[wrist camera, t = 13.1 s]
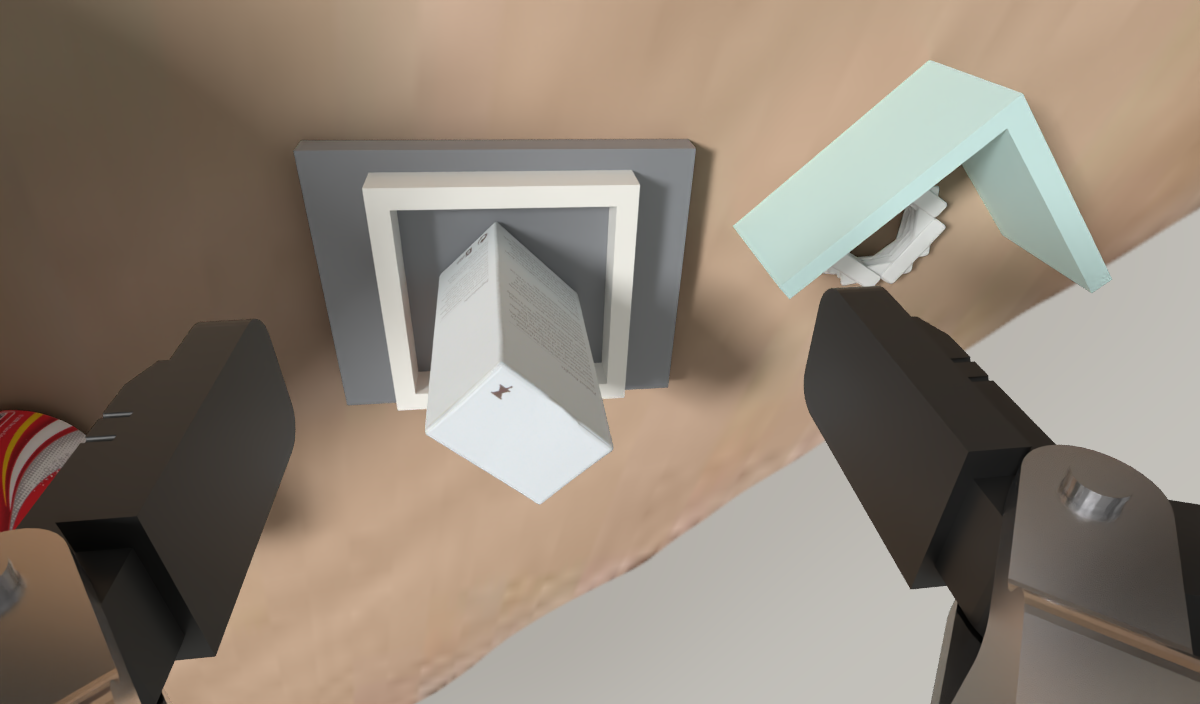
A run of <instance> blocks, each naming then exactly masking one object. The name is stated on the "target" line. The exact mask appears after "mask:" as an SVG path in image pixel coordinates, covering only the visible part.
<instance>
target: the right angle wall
mask: <svg viewBox="0 0 1200 704" xmlns="http://www.w3.org/2000/svg"><path fill="white" fill-rule="evenodd" d="M961 164H962V166H963V168H964V169H965V171H966V173H967V175H968V176H969V178H970V180H971V181H972V183H973V185H974V187H975V188H976V190H977V192H978V194H979V195H980V197H981V199H982V201H983V202H984V204H985V206H986V208H987V209H988V211H989V213H990V215H991V216H992V218H993V220H994V221H995V223H996V225H997V227H998V228H999V230H1000V232H1001V234H1002V235H1003V236H1005V237H1006V238H1008V239H1009V240H1011V241H1012V242H1014V243H1015V244H1017V245H1018V246H1020V247H1021V248H1023V249H1025V250H1026V251H1028V252H1029V253H1031V254H1032V255H1034V256H1035V257H1037V258H1038V259H1040V260H1041V261H1043V262H1045V263H1046V264H1048V265H1049V266H1051V267H1052V268H1054V269H1055V270H1057V271H1058V272H1060V273H1061V274H1063V275H1065V276H1066V277H1068V278H1069V279H1071V280H1072V281H1074V282H1075V283H1077V284H1078V285H1080V286H1082V287H1083V288H1085V289H1086V290H1088V291H1089V292H1091V293H1093V292H1094V291H1096V290H1097V289H1098V288H1100V287H1101V286H1103V285H1104V284H1106V283H1107V282H1109V281H1110V280H1112V278H1111V276H1110V274H1109V272H1108V270H1107V268H1106V265H1105V263H1104V261H1103V259H1102V257H1101V255H1100V253H1099V251H1098V249H1097V247H1096V245H1095V243H1094V241H1093V238H1092V236H1091V234H1090V232H1089V230H1088V228H1087V226H1086V224H1085V222H1084V220H1083V218H1082V216H1081V214H1080V211H1079V209H1078V207H1077V205H1076V203H1075V201H1074V199H1073V197H1072V195H1071V193H1070V191H1069V189H1068V186H1067V184H1066V182H1065V180H1064V178H1063V176H1062V174H1061V172H1060V170H1059V168H1058V166H1057V164H1056V162H1055V159H1054V157H1053V155H1052V153H1051V151H1050V149H1049V147H1048V145H1047V143H1046V141H1045V139H1044V137H1043V135H1042V132H1041V130H1040V128H1039V126H1038V124H1037V122H1036V120H1035V118H1034V116H1033V114H1032V112H1031V110H1030V107H1029V105H1028V103H1027V101H1026V99H1025V97H1024V95H1023V93H1020V92H1017V91H1014V90H1012V89H1009V88H1006V87H1003V86H1000V85H998V84H995V83H992V82H989V81H987V80H984V79H981V78H978V77H976V76H973V75H970V74H967V73H965V72H962V71H959V70H956V69H954V68H951V67H948V66H945V65H942V64H940V63H937V62H934V61H931V60H929V61H927V62H926V63H925V64H924V65H923V66H922V67H920V68H919V69H918V70H917V71H916V72H914V73H913V74H912V75H911V76H910V77H909V78H907V79H906V80H905V81H904V82H903V83H901V84H900V85H899V86H898V87H897V88H896V89H894V90H893V91H892V92H891V93H890V94H888V95H887V96H886V97H885V98H884V99H883V100H881V101H880V102H879V103H878V104H877V105H875V106H874V107H873V108H872V109H871V110H870V111H868V112H867V113H866V114H865V115H864V116H862V117H861V118H860V119H859V120H858V121H857V122H855V123H854V124H853V125H852V126H851V127H849V128H848V129H847V130H846V131H845V132H844V133H842V134H841V135H840V136H839V137H838V138H836V139H835V140H834V141H833V142H832V143H831V144H829V145H828V146H827V147H826V148H825V149H823V150H822V151H821V152H820V153H819V154H818V155H816V156H815V157H814V158H813V159H812V160H810V161H809V162H808V163H807V164H806V165H805V166H803V167H802V168H801V169H800V170H799V171H797V172H796V173H795V174H794V175H793V176H791V177H790V178H789V179H788V180H787V181H786V182H784V183H783V184H782V185H781V186H780V187H778V188H777V189H776V190H775V191H774V192H773V193H771V194H770V195H769V196H768V197H767V198H765V199H764V200H763V201H762V202H761V203H760V204H758V205H757V206H756V207H755V208H754V209H752V210H751V211H750V212H749V213H748V214H747V215H745V216H744V217H743V218H742V219H741V220H739V221H738V222H737V223H736V224H735V225H734V226H733V227H734V228H735V230H736V231H737V232H738V234H739V235H740V236H741V238H742V239H743V240H744V242H745V243H746V244H747V246H748V247H749V248H750V250H751V251H752V252H753V253H754V255H755V256H756V257H757V259H758V260H759V261H760V263H761V264H762V265H763V267H764V268H765V269H766V271H767V272H768V273H769V275H770V276H771V277H772V279H773V280H774V281H775V282H776V284H777V285H778V286H779V288H780V289H781V290H782V291H783V292H784V293H785V295H786V296H787V297H788V298H789V299H790V298H792V297H793V296H794V295H795V294H797V293H798V292H799V291H801V290H802V289H803V288H804V287H806V286H807V285H808V284H809V283H811V282H812V281H813V280H815V279H816V278H817V277H818V276H820V275H821V274H822V273H824V274H837V278H840V280H841V281H840V282H841V284H842V285H843V286H844V285H849V284H854V283H858V284H859V285H861V286H863V287H866V286H875V285H876V284H877V283H878V281H879V280H880V279H882V280H883V281H885V282H887V283H889V284H892V283H894V282H895V281H896V280H897V279H898V278H899V277H900V276H901V275H902V274H905V273H909V272H911V270H912V266H913V262H914V261H915V260H916V259H917V258H918V257H922V256H926V255H928V253H929V250H930V244H931V243H932V242H933V241H934V240H935V239H936V238H937V237H938V236H939V235H940V234H941V233H942V232H943V231H944V230H945V228H946V226H945V225H944V224H943V223H942V222H940V221H939V220H937V219H935V217H937V216H938V215H939V214H940V213H941V212H942V211H943V210H944V209H945V208H946V206H947V203H946V202H945V201H944V200H942V199H941V198H940V197H938V194H939V187H938V186H934V185H936V184H937V183H938V182H939V181H941V180H942V179H943V178H944V177H946V176H947V175H948V174H950V173H951V172H952V171H953V170H955V169H956V168H957V167H958V166H960V165H961ZM904 209H905V210H904ZM902 210H904V213H903V217H902V220H901V224H900V227H899V230H898V234H897V237H896V240H895V241H893V242H892V243H890V244H889V245H888V246H886V247H885V248H883V249H882V250H881V251H879V252H878V253H877V254H875V255H874V256H864V257H856V256H854V255H853V254H851V253H849V252H850V251H851V250H853V249H854V248H855V247H857V246H858V245H859V244H860V243H862V242H863V241H864V240H865V239H867V238H868V237H869V236H871V235H872V234H873V233H874V232H876V231H877V230H878V229H880V228H881V227H882V226H883V225H885V224H886V223H887V222H888V221H890V220H891V219H892V218H894V217H895V216H896V215H897V214H899V213H900V212H901V211H902Z"/></svg>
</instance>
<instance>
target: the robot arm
mask: <svg viewBox="0 0 1200 704" xmlns="http://www.w3.org/2000/svg"><path fill="white" fill-rule="evenodd" d="M804 394H805V400H806V404H807V408H808V410H809V413H810V415H811V416H812V418H813V420H814V422H815V423H816V425H817V427H818V429H819V430H820V432H821V434H822V436H823V437H824V439H825V441H826V443H827V444H828V446H829V448H830V450H831V451H832V453H833V455H834V456H835V458H836V460H837V461H838V463H839V465H840V467H841V469H842V471H843V472H844V474H845V476H846V477H847V479H848V481H849V483H850V484H851V486H852V488H853V490H854V491H855V493H856V495H857V497H858V498H859V500H860V502H861V504H862V505H863V507H864V509H865V511H866V512H867V514H868V516H869V518H870V519H871V521H872V523H873V525H874V526H875V528H876V530H877V532H878V533H879V535H880V537H881V539H882V540H883V542H884V544H885V545H886V547H887V549H888V551H889V553H890V554H891V556H892V558H893V559H894V561H895V563H896V565H897V566H898V568H899V570H900V572H901V573H902V575H903V577H904V578H905V580H906V582H907V584H908V585H909V587H910V589H919V588H929V587H939V586H947V587H948V588H949V590H950V591H951V593H952V594H953V596H954V598H955V601H954V603H953V605H952V607H951V609H950V611H949V614H948V617H947V622H946V628H945V632H944V638H943V643H942V648H941V653H940V658H939V664H938V669H937V674H936V679H935V685H934V689H933V694H932V700H931V704H1200V505H1198V504H1192V503H1185V502H1179V501H1172V500H1168V499H1167V497H1166V496H1165V495H1164V494H1163V492H1162V491H1161V490H1160V489H1159V488H1158V487H1157V486H1156V485H1155V484H1154V483H1153V482H1152V481H1151V480H1149V479H1148V478H1147V477H1145V476H1144V475H1143V474H1141V473H1140V472H1138V471H1137V470H1135V469H1134V468H1132V467H1131V466H1129V465H1127V464H1125V463H1123V462H1121V461H1119V460H1117V459H1115V458H1112V457H1110V456H1108V455H1105V454H1102V453H1100V452H1097V451H1094V450H1090V449H1086V448H1082V447H1076V446H1070V445H1056V444H1055V443H1054V442H1053V441H1052V440H1051V439H1050V438H1049V437H1048V436H1047V435H1046V434H1045V433H1044V432H1043V431H1042V430H1041V429H1040V428H1039V427H1038V426H1037V425H1036V424H1035V423H1034V422H1033V421H1032V420H1031V419H1030V418H1029V417H1028V416H1027V415H1026V414H1025V413H1024V411H1022V410H1021V408H1020V407H1019V406H1018V405H1017V404H1016V403H1014V401H1013V400H1012V399H1011V398H1010V397H1009V396H1008V395H1007V394H1006V393H1005V392H1004V391H1003V390H1002V389H1001V388H1000V387H999V386H998V385H997V384H996V383H995V382H994V381H989V380H988V375H987V374H986V373H985V372H984V371H983V370H982V369H981V368H980V367H979V366H978V365H977V363H976V362H971V361H970V356H968V354H967V353H966V352H965V351H964V350H963V349H962V348H961V347H960V346H959V345H958V344H957V343H956V342H955V341H954V340H953V339H952V338H951V337H950V336H949V335H948V334H946V333H944V332H943V331H941V330H939V329H937V328H936V327H934V326H932V325H930V324H929V323H927V322H925V321H923V320H922V319H920V318H918V317H911V316H910V315H909V314H908V313H907V312H906V311H905V310H904V309H903V308H902V306H901V305H900V304H899V303H898V302H897V301H896V300H895V299H894V298H893V297H892V296H891V295H890V294H889V293H888V291H887V290H885V289H884V288H883V287H881V286H866V287H848V288H831V289H828V290H827V291H826V292H825V293H824V294H823V296H822V298H821V301H820V304H819V309H818V313H817V318H816V323H815V327H814V332H813V336H812V341H811V346H810V350H809V355H808V360H807V364H806V369H805V374H804ZM85 438H86V442H85V443H80V444H79V446H78V447H77V448H76V450H75V451H74V452H73V453H72V455H71V456H70V457H69V459H68V460H67V461H66V463H65V464H64V465H63V467H62V468H61V469H60V471H59V472H58V473H57V475H56V476H55V477H54V479H53V480H52V481H51V483H50V484H49V485H48V487H47V488H46V489H45V490H44V492H43V493H42V494H41V496H40V497H39V498H38V500H37V501H36V502H35V504H34V505H33V506H32V508H31V509H30V510H29V512H28V513H27V514H26V516H25V517H24V518H23V520H22V521H21V522H20V524H19V525H18V526H17V528H16V529H14V530H9V531H4V532H0V704H172V701H171V699H170V698H169V696H168V694H167V693H166V691H165V690H164V688H163V687H164V685H165V682H166V680H167V678H168V675H169V673H170V671H171V668H172V666H173V664H174V661H175V660H185V659H194V658H204V657H214V656H216V654H217V651H218V648H219V646H220V643H221V640H222V637H223V635H224V632H225V629H226V627H227V624H228V621H229V619H230V616H231V613H232V611H233V608H234V605H235V603H236V600H237V597H238V595H239V592H240V589H241V587H242V584H243V581H244V579H245V576H246V573H247V571H248V568H249V565H250V563H251V560H252V557H253V555H254V552H255V549H256V547H257V544H258V541H259V539H260V536H261V533H262V530H263V528H264V525H265V522H266V520H267V517H268V514H269V512H270V509H271V506H272V504H273V501H274V498H275V496H276V493H277V490H278V488H279V485H280V482H281V480H282V477H283V474H284V472H285V469H286V466H287V464H288V461H289V458H290V456H291V453H292V450H293V446H294V440H295V417H294V411H293V407H292V403H291V400H290V397H289V394H288V391H287V388H286V385H285V382H284V379H283V376H282V373H281V370H280V366H279V363H278V360H277V357H276V354H275V351H274V348H273V345H272V342H271V339H270V336H269V333H268V331H267V329H266V327H265V325H264V324H263V323H262V322H261V321H260V320H258V319H246V320H228V321H210V322H199V323H197V324H195V325H194V326H193V327H192V328H191V330H190V331H189V333H188V334H187V336H186V337H185V338H184V340H183V341H182V343H181V344H180V346H179V347H178V348H177V350H176V351H175V353H174V354H173V355H172V357H171V358H170V360H164V361H157V362H156V363H155V364H153V365H152V366H150V367H149V368H148V369H146V370H145V371H143V372H142V373H141V374H139V375H138V376H136V377H135V378H134V379H132V380H131V381H130V382H128V383H127V384H125V385H124V386H123V387H122V389H121V390H120V391H119V393H118V394H117V395H116V397H115V398H114V399H113V401H112V402H111V403H110V405H109V406H108V407H107V409H106V410H105V411H104V413H103V419H98V420H97V422H96V423H95V424H94V426H93V427H92V428H91V430H90V431H89V432H88V434H87V435H86V436H85Z"/></svg>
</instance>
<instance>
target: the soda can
mask: <svg viewBox="0 0 1200 704" xmlns="http://www.w3.org/2000/svg"><path fill="white" fill-rule="evenodd" d="M85 436H86V435H85V434H84V433H83V432H81V431H80V430H78V429H77V428H75V427H74V426H72V425H70V424H68V423H66V422H64V421H62V420H59V419H57V418H54V417H52V416H48V415H45V414H41V413H36V412H30V411H21V410H3V411H0V532H4V531H9V530H14V529H16V528H17V526H18V525H19V524H20V522H21V521H22V520H23V518H24V517H25V516H26V514H27V513H28V512H29V510H30V509H31V508H32V506H33V505H34V504H35V502H36V501H37V500H38V498H39V497H40V496H41V494H42V493H43V492H44V490H45V489H46V488H47V487H48V485H49V484H50V483H51V481H52V480H53V479H54V477H55V476H56V475H57V473H58V472H59V471H60V469H61V468H62V467H63V465H64V464H65V463H66V461H67V460H68V459H69V457H70V456H71V455H72V453H73V452H74V451H75V450H76V448H77V447H78V446H79V444H80V443H85V442H86V438H85Z"/></svg>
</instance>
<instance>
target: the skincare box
mask: <svg viewBox="0 0 1200 704" xmlns="http://www.w3.org/2000/svg"><path fill="white" fill-rule="evenodd" d="M425 433H426V435H428V436H429V437H431V438H433V439H434V440H436V441H438V442H439V443H441V444H443V445H444V446H446V447H447V448H449V449H451V450H452V451H454V452H455V453H457V454H458V455H460V456H462V457H463V458H465V459H467V460H468V461H470V462H471V463H473V464H475V465H476V466H478V467H480V468H481V469H483V470H485V471H486V472H488V473H489V474H491V475H493V476H494V477H496V478H498V479H499V480H501V481H502V482H504V483H506V484H507V485H509V486H510V487H512V488H514V489H515V490H517V491H518V492H520V493H522V494H523V495H525V496H526V497H528V498H530V499H531V500H533V501H534V502H536V503H537V504H542V503H543V502H544V501H545V500H547V499H548V498H549V497H551V496H552V495H553V494H554V493H556V492H557V491H558V490H560V489H561V488H562V487H563V486H565V485H566V484H567V483H569V482H570V481H571V480H573V479H574V478H575V477H577V476H578V475H579V474H581V473H582V472H583V471H585V470H586V469H587V468H589V467H590V466H592V465H593V464H594V463H596V462H597V461H598V460H600V459H601V458H603V457H604V456H605V455H607V454H608V453H610V452H611V451H612V450H613V443H612V438H611V435H610V431H609V426H608V422H607V417H606V413H605V409H604V405H603V400H602V396H601V392H600V388H599V384H598V379H597V375H596V370H595V366H594V361H593V358H592V353H591V349H590V345H589V340H588V336H587V332H586V328H585V323H584V319H583V315H582V310H581V306H580V302H579V298H578V294H577V293H576V292H575V291H574V290H573V289H572V288H570V287H569V286H568V285H567V284H566V283H565V282H564V281H563V280H562V279H560V278H559V277H558V276H557V275H556V274H555V273H554V272H553V271H552V270H550V269H549V268H548V267H547V266H546V265H545V264H544V263H543V262H542V261H540V260H539V259H538V258H537V257H536V256H535V255H534V254H532V253H531V252H530V251H529V250H528V249H527V248H526V247H525V246H523V245H522V244H521V243H520V242H519V241H518V240H517V239H516V238H514V237H513V236H512V235H511V234H510V233H509V232H508V231H507V230H506V229H504V228H503V227H502V226H501V225H500V224H499V223H498V222H495V223H494V224H493V225H492V226H491V227H490V228H488V229H487V230H486V231H485V232H484V233H483V234H482V235H481V236H480V237H479V238H478V239H477V240H476V241H475V242H474V243H473V244H472V245H471V246H470V247H469V248H468V249H467V250H466V251H465V252H464V253H463V254H461V255H460V256H459V257H458V258H457V259H456V260H455V261H454V262H453V263H452V264H451V265H450V266H449V267H448V268H447V269H445V270H444V271H443V272H442V273H441V275H440V277H439V288H438V298H437V308H436V319H435V329H434V339H433V350H432V361H431V371H430V381H429V392H428V403H427V412H426V424H425Z"/></svg>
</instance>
